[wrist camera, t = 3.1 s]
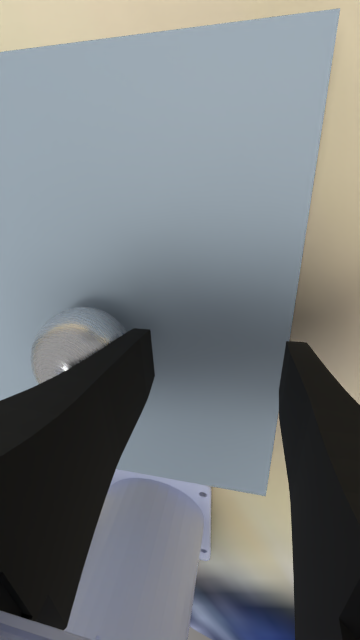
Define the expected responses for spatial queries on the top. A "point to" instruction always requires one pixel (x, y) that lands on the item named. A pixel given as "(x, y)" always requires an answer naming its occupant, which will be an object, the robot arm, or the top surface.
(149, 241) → the deck
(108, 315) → the ball
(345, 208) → the top surface
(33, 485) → the robot arm
